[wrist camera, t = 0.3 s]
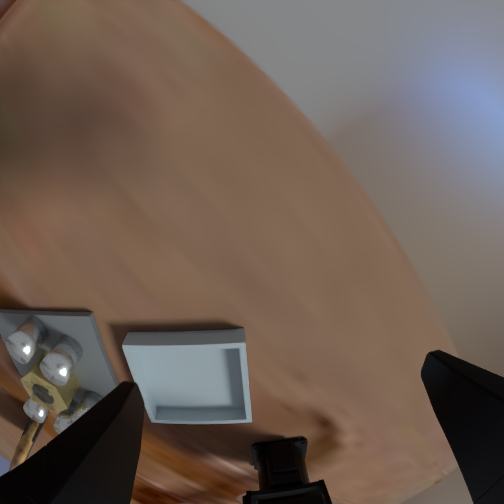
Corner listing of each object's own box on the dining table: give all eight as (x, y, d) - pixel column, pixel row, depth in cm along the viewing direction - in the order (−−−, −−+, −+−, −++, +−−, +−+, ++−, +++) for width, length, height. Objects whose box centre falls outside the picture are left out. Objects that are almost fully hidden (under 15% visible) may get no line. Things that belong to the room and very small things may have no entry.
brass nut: (85, 394, 24) (73, 418, 21) (50, 389, 24) (38, 410, 21) (64, 352, 23) (48, 375, 19) (30, 348, 22) (13, 368, 19)
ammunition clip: (36, 438, 29) (12, 490, 18) (27, 431, 29) (1, 483, 17) (47, 416, 27) (16, 480, 16) (36, 408, 27) (3, 470, 15)
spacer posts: (116, 421, 26) (107, 447, 22) (50, 409, 25) (38, 431, 22) (70, 317, 21) (50, 342, 18) (2, 313, 21) (-19, 333, 17)
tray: (250, 407, 27) (252, 422, 25) (155, 408, 26) (151, 422, 24) (244, 328, 23) (245, 342, 22) (128, 331, 23) (121, 345, 21)
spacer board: (134, 418, 27) (133, 423, 26) (41, 403, 26) (39, 407, 25) (92, 311, 22) (89, 316, 22) (-5, 308, 22) (-9, 312, 21)
